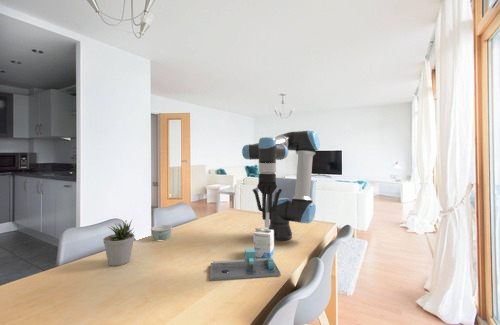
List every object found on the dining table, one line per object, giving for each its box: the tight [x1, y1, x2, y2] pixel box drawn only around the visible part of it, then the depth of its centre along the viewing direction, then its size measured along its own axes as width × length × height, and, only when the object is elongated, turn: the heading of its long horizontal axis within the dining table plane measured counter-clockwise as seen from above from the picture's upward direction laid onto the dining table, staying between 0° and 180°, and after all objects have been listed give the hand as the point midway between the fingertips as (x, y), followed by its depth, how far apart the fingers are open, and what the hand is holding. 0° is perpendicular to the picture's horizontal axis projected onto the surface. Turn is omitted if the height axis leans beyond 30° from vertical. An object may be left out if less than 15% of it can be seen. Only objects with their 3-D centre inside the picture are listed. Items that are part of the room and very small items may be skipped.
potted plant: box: [102, 219, 135, 267], centre depth 113 cm, size 13×14×20 cm
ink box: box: [252, 227, 275, 259], centre depth 123 cm, size 9×8×13 cm
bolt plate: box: [209, 257, 282, 282], centre depth 105 cm, size 28×14×4 cm, turn 99°
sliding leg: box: [244, 247, 256, 269], centre depth 106 cm, size 4×8×6 cm, turn 8°
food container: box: [150, 224, 173, 241], centre depth 147 cm, size 12×12×6 cm
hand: (266, 226), depth 109 cm, fingers closed
